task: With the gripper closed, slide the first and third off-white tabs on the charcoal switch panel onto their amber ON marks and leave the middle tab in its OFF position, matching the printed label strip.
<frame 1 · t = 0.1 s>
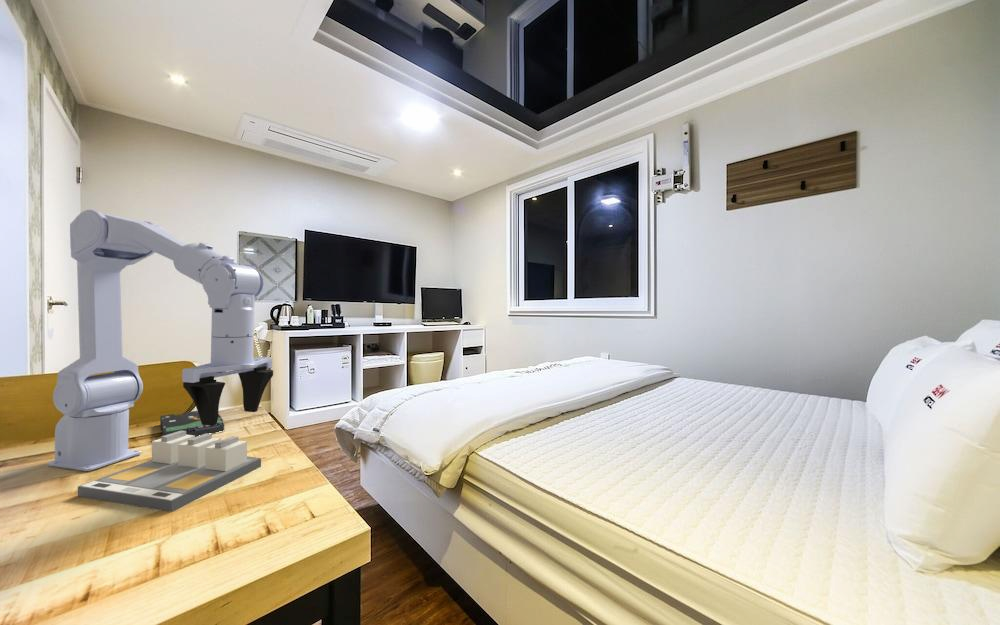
hand: (231, 417, 61), 10 cm above the table, fingers open, 7 cm apart
tab b: (199, 449, 63), point 4 cm above the table, slide at 0.0 cm
disk drive: (191, 431, 84), on the table
tab c: (226, 452, 62), point 4 cm above the table, slide at 0.0 cm
tab a: (173, 446, 64), point 4 cm above the table, slide at 0.0 cm
switch panel: (178, 480, 60), on the table
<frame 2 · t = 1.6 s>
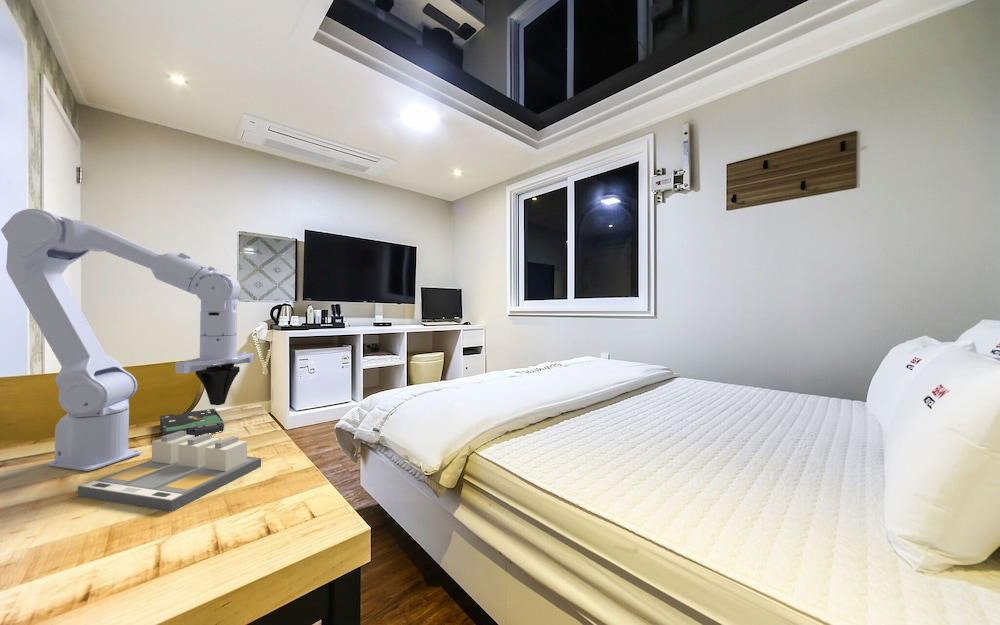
hand: (217, 404, 72), 9 cm above the table, fingers closed
nothing on the table moved.
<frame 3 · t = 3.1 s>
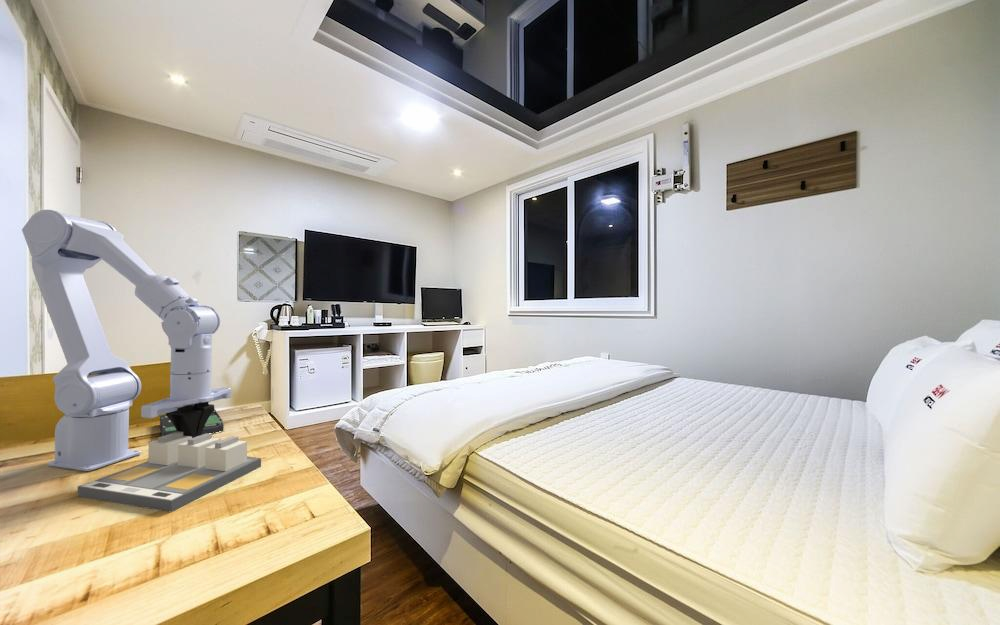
hand: (190, 446, 67), 3 cm above the table, fingers closed
tab a: (170, 447, 64), point 4 cm above the table, slide at 0.5 cm, touching gripper
everything else where it was.
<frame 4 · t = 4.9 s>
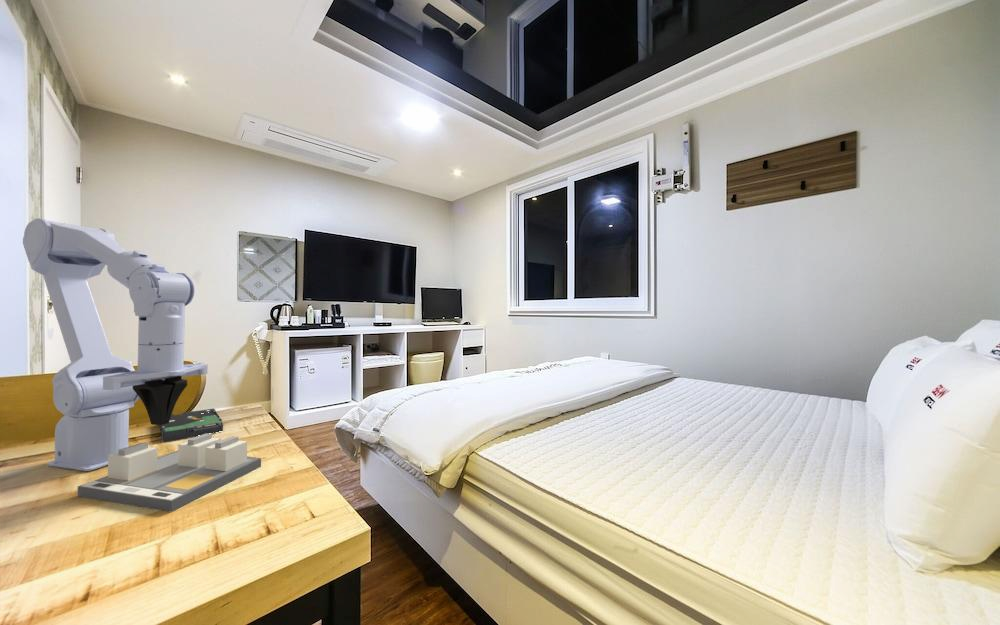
hand: (160, 423, 62), 8 cm above the table, fingers closed
tab a: (133, 459, 58), point 4 cm above the table, slide at 6.1 cm
everything else where it was.
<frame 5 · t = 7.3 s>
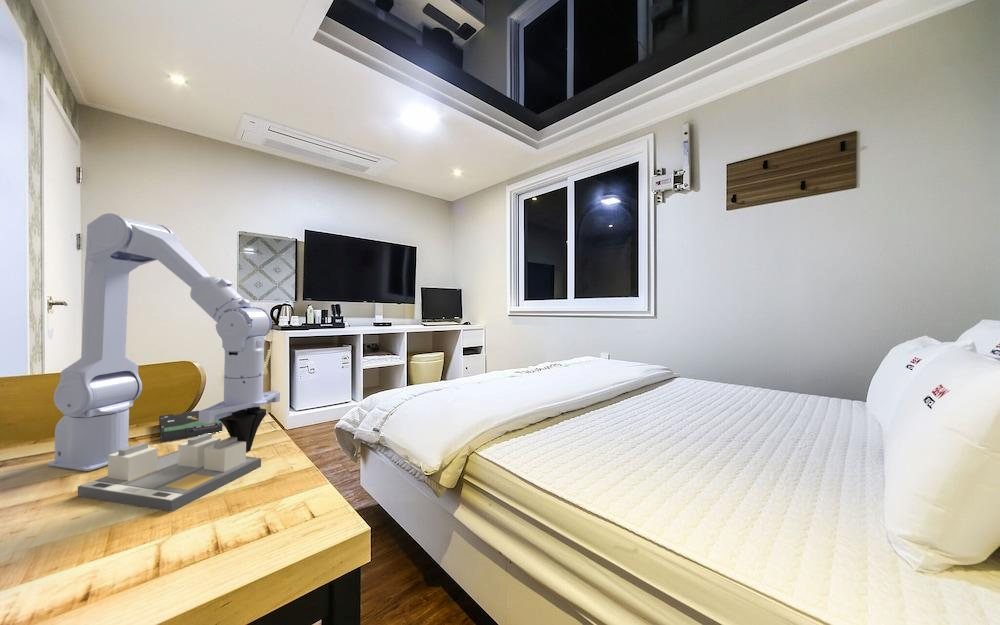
hand: (242, 451, 65), 3 cm above the table, fingers closed
tab c: (225, 452, 62), point 4 cm above the table, slide at 0.2 cm, touching gripper
everything else where it was.
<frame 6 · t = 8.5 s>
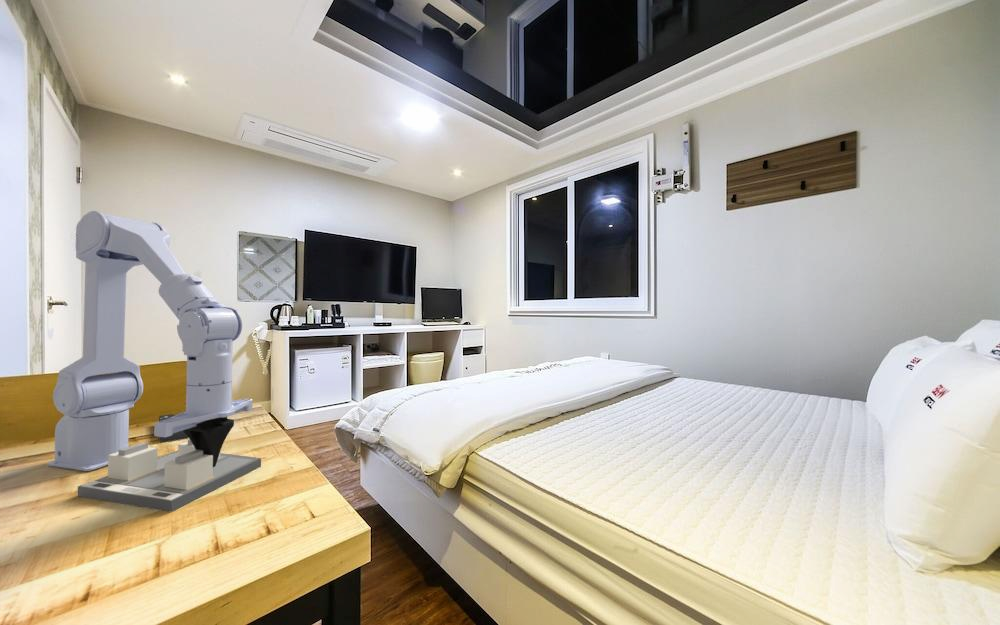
hand: (208, 466, 59), 3 cm above the table, fingers closed
tab c: (189, 467, 56), point 4 cm above the table, slide at 6.2 cm, touching gripper
everything else where it was.
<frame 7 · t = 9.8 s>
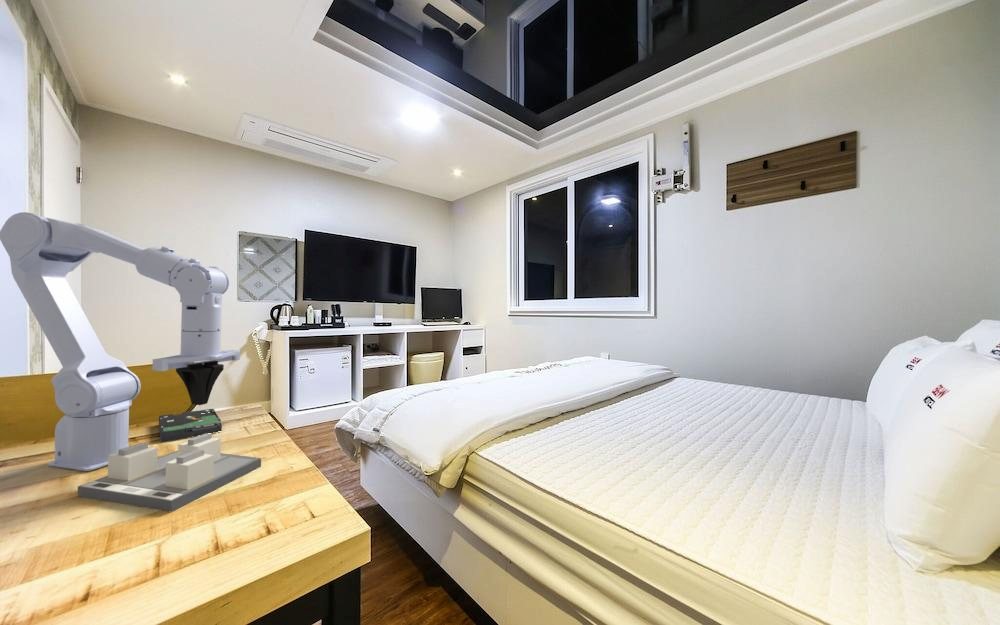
hand: (199, 403, 68), 10 cm above the table, fingers closed
tab c: (190, 467, 56), point 4 cm above the table, slide at 6.1 cm
everything else where it was.
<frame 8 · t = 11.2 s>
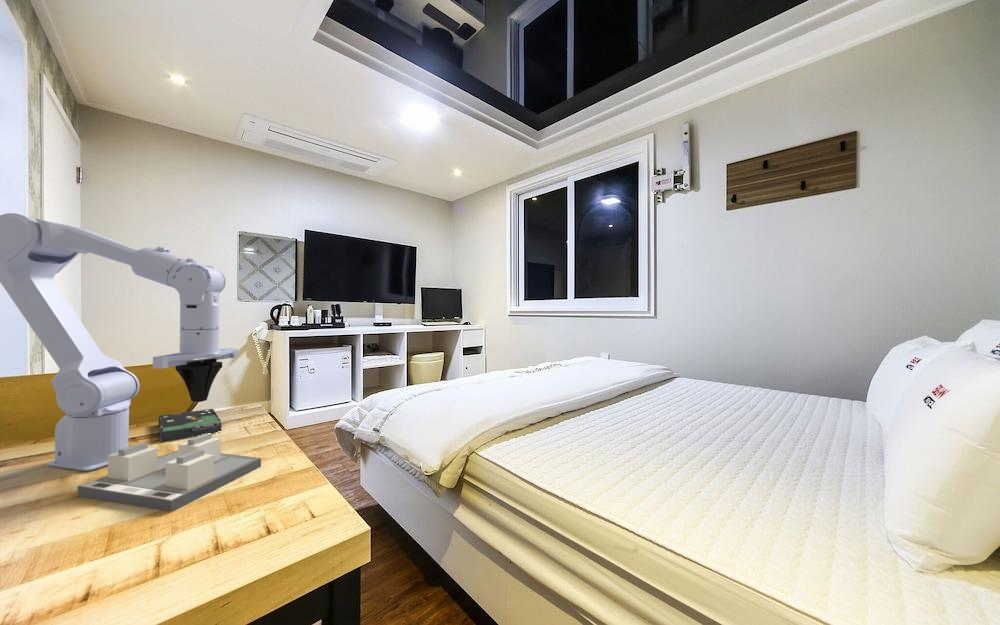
hand: (199, 400, 69), 10 cm above the table, fingers closed
nothing on the table moved.
at the end: tab a slide at 6.1 cm; tab c slide at 6.1 cm; tab b slide at 0.0 cm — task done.
